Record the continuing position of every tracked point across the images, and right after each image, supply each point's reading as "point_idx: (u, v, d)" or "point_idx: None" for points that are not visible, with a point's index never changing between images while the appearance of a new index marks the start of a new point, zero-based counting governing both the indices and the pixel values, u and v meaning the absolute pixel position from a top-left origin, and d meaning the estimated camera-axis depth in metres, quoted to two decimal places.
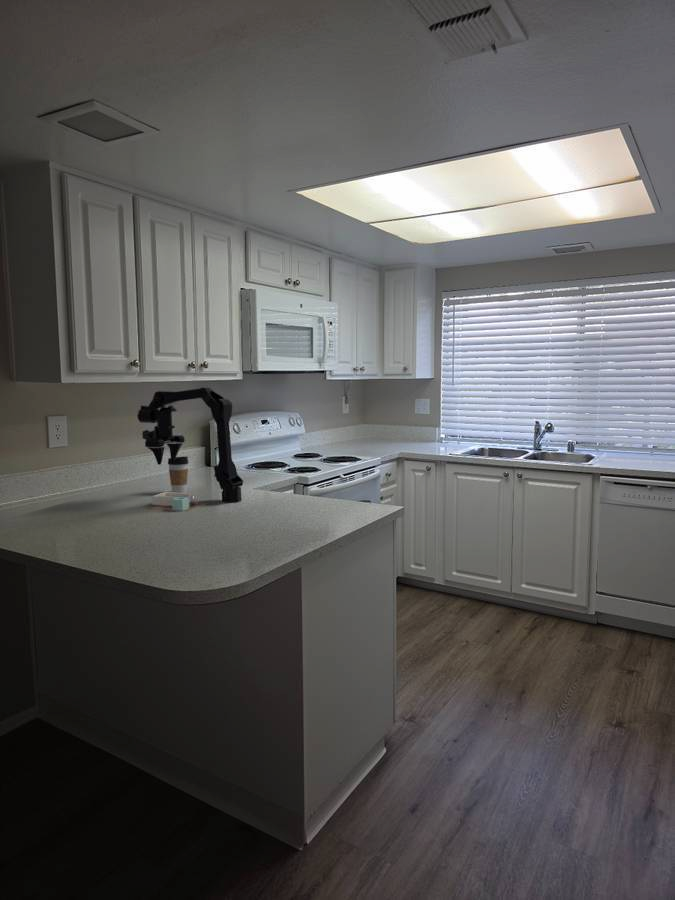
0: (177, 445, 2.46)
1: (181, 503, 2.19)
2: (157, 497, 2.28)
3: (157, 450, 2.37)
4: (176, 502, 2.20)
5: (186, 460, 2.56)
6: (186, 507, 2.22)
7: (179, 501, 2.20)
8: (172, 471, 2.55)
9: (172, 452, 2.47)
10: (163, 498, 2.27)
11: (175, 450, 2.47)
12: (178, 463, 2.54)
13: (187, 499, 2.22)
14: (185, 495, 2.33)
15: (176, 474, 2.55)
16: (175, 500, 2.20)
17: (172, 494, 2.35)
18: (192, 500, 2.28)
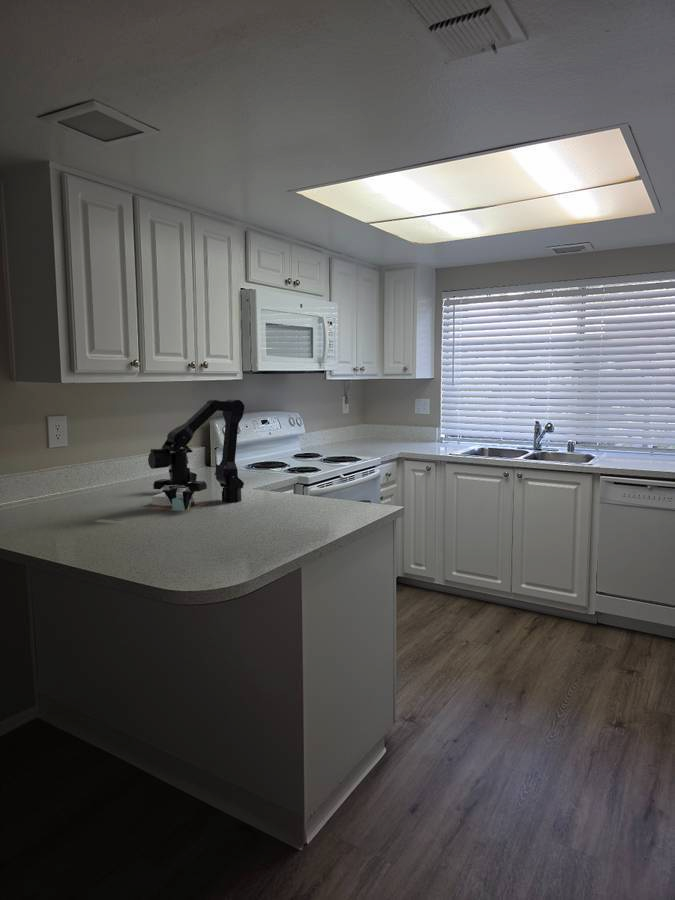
0: None
1: (181, 503, 2.19)
2: (157, 497, 2.28)
3: None
4: (176, 502, 2.20)
5: None
6: None
7: (179, 501, 2.20)
8: None
9: None
10: (163, 498, 2.27)
11: None
12: None
13: None
14: None
15: None
16: (175, 500, 2.20)
17: None
18: (192, 500, 2.28)
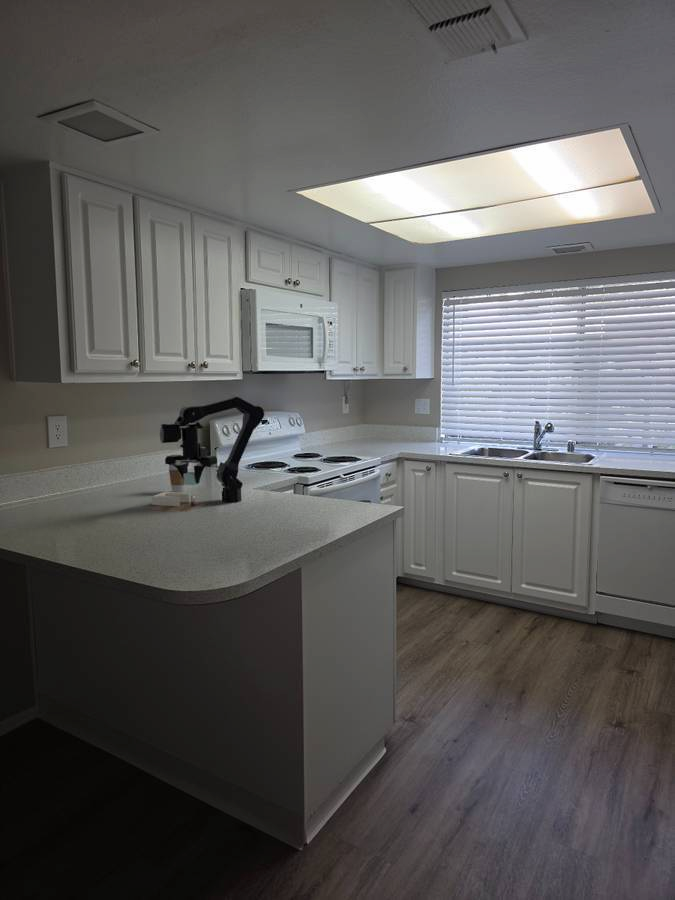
0: None
1: (192, 477, 2.25)
2: (157, 497, 2.28)
3: None
4: (187, 476, 2.25)
5: None
6: None
7: (190, 475, 2.25)
8: (172, 471, 2.55)
9: None
10: (163, 498, 2.27)
11: None
12: None
13: None
14: (185, 495, 2.33)
15: (176, 474, 2.55)
16: (186, 474, 2.26)
17: (172, 494, 2.35)
18: (192, 500, 2.28)
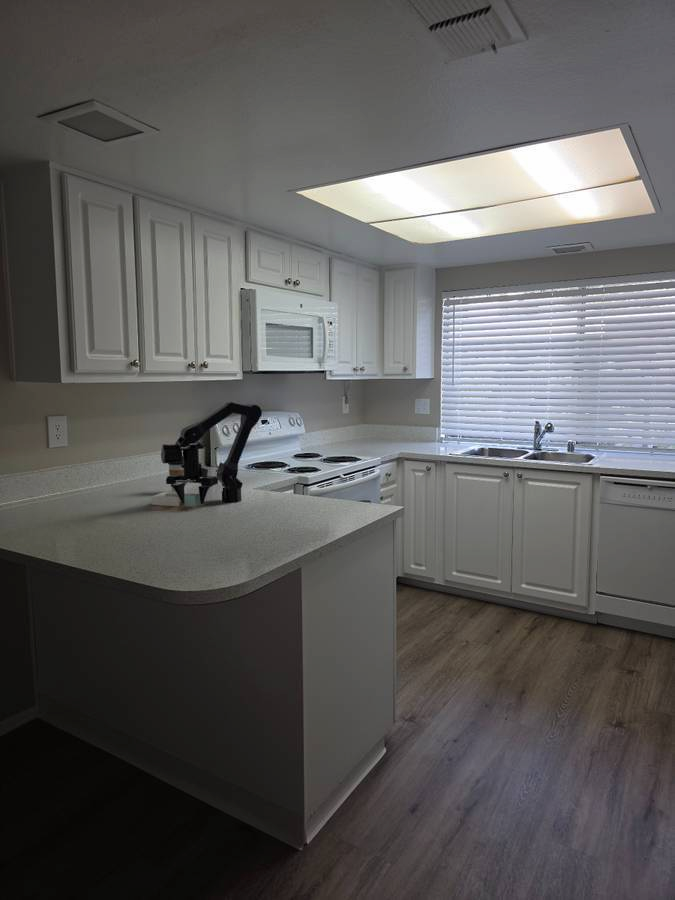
0: None
1: (193, 499, 2.26)
2: (157, 497, 2.28)
3: None
4: (188, 498, 2.27)
5: None
6: (198, 503, 2.28)
7: (191, 497, 2.26)
8: (172, 471, 2.55)
9: None
10: (163, 498, 2.27)
11: None
12: (178, 463, 2.54)
13: (199, 495, 2.29)
14: None
15: (176, 474, 2.55)
16: (187, 496, 2.27)
17: (172, 494, 2.35)
18: None
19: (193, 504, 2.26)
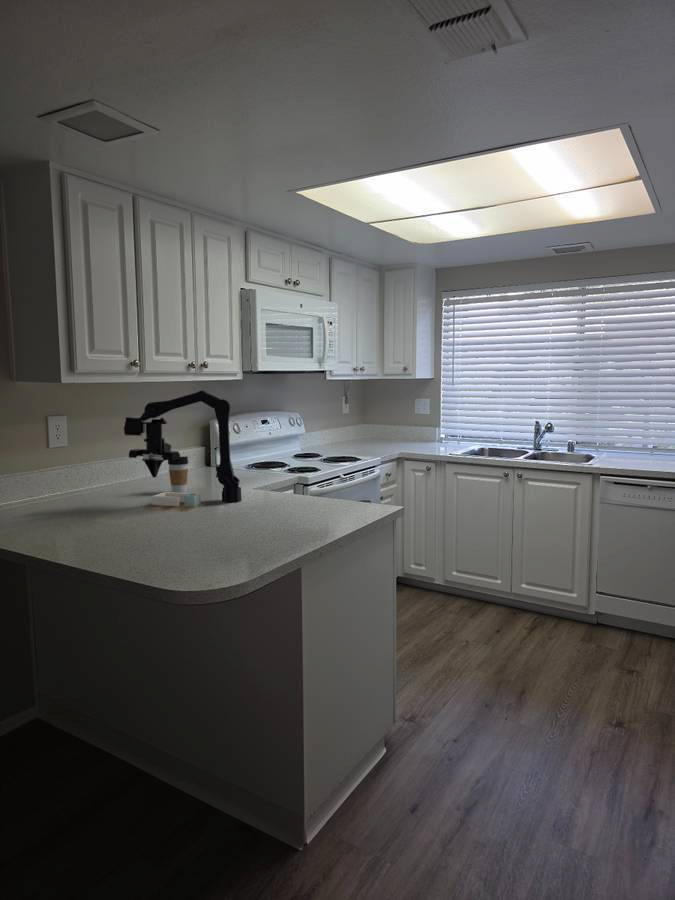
0: None
1: (193, 499, 2.26)
2: (157, 497, 2.28)
3: None
4: (188, 498, 2.27)
5: (186, 460, 2.56)
6: (198, 503, 2.28)
7: (191, 497, 2.26)
8: (172, 471, 2.55)
9: None
10: (163, 498, 2.27)
11: None
12: (178, 463, 2.54)
13: (199, 495, 2.29)
14: None
15: (176, 474, 2.55)
16: (187, 496, 2.27)
17: (172, 494, 2.35)
18: None
19: (193, 504, 2.26)
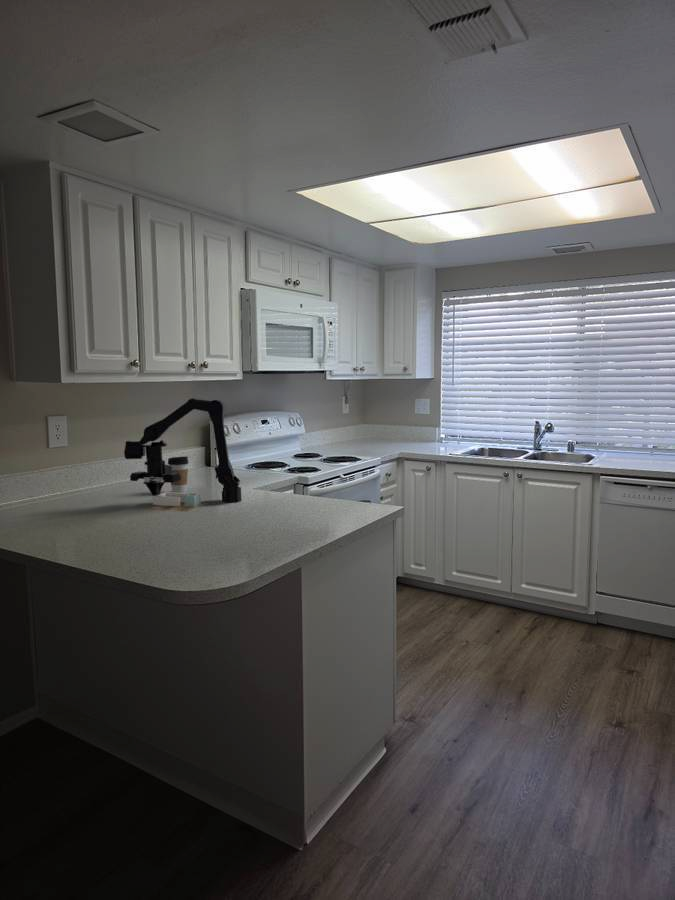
0: None
1: (193, 499, 2.26)
2: (158, 497, 2.28)
3: None
4: (188, 498, 2.27)
5: (186, 460, 2.56)
6: (198, 503, 2.28)
7: (191, 497, 2.26)
8: (172, 471, 2.55)
9: None
10: (164, 498, 2.27)
11: None
12: (178, 463, 2.54)
13: (199, 495, 2.29)
14: None
15: None
16: (187, 496, 2.27)
17: (173, 494, 2.35)
18: None
19: (193, 504, 2.26)
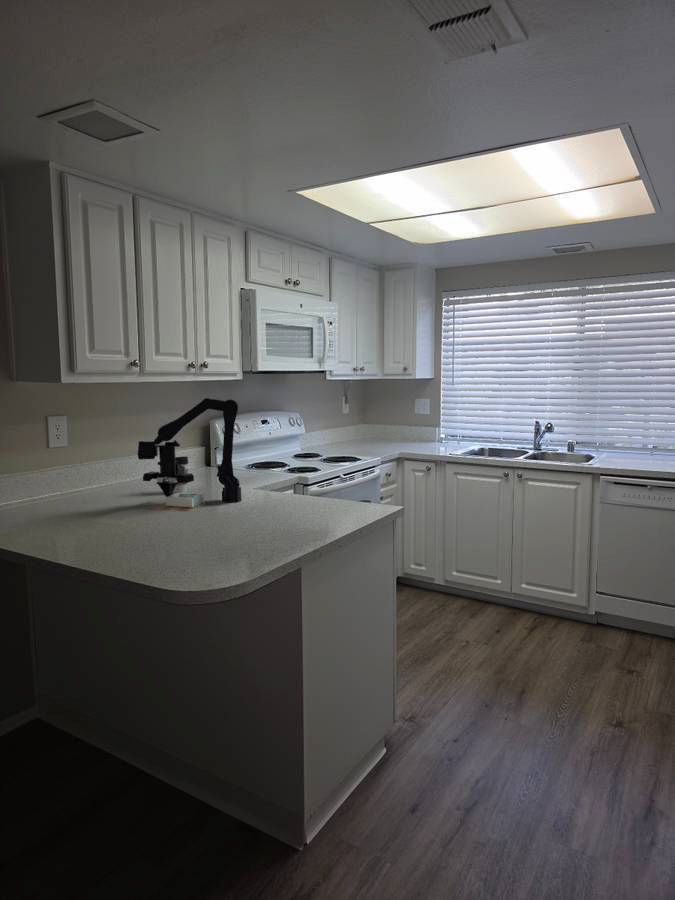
0: None
1: None
2: (171, 498, 2.26)
3: None
4: None
5: (186, 460, 2.56)
6: (198, 503, 2.28)
7: (191, 497, 2.26)
8: None
9: None
10: (177, 499, 2.26)
11: None
12: (178, 463, 2.54)
13: (199, 495, 2.29)
14: None
15: None
16: (187, 496, 2.27)
17: None
18: None
19: None
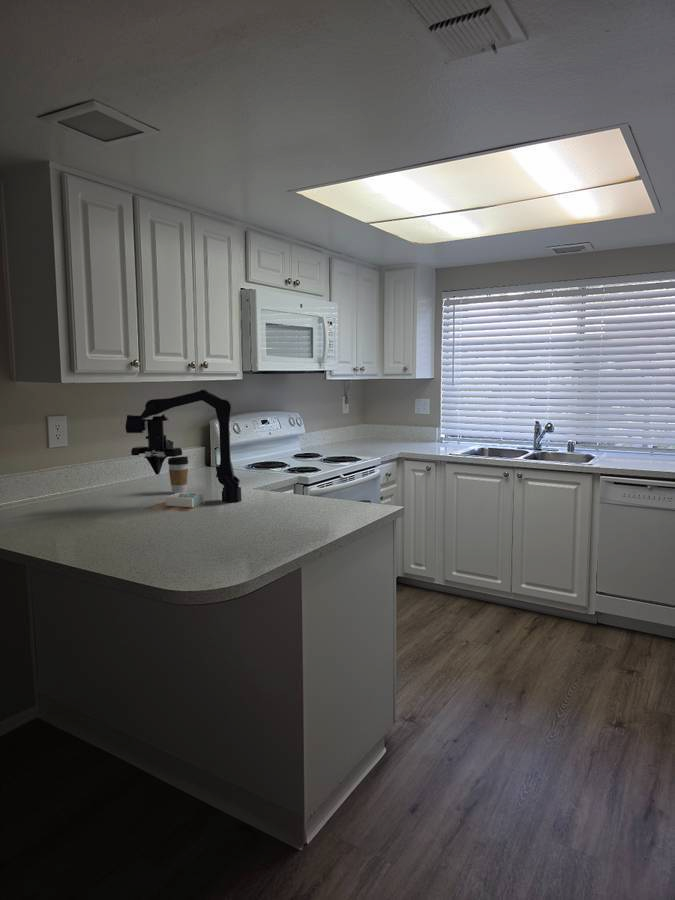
0: None
1: None
2: (171, 498, 2.26)
3: None
4: None
5: (186, 460, 2.56)
6: (198, 503, 2.28)
7: (191, 497, 2.26)
8: (172, 471, 2.55)
9: None
10: (177, 499, 2.26)
11: None
12: (178, 463, 2.54)
13: (199, 495, 2.29)
14: None
15: (176, 474, 2.55)
16: (187, 496, 2.27)
17: None
18: None
19: None
